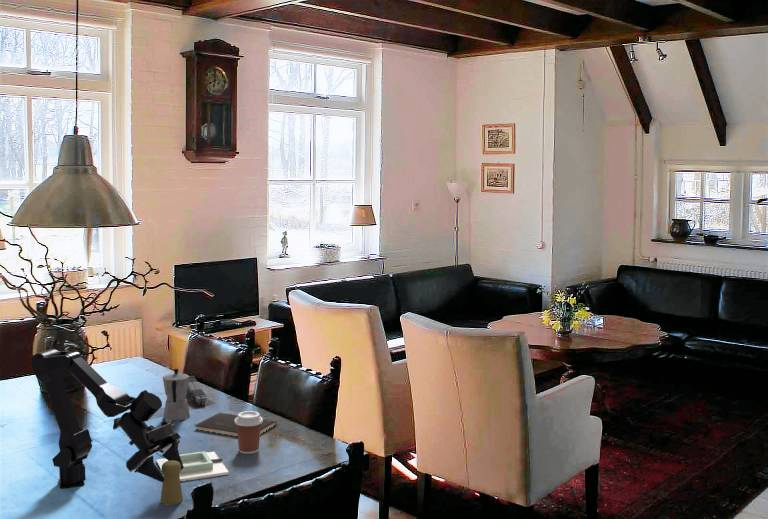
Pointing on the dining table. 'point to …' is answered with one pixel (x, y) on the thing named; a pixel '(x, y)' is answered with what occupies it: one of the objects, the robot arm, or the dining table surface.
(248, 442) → the coffee cup
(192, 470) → the dock plate
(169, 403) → the coffeepot
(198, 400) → the gun
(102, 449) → the dining table surface
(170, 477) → the cork
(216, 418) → the hardcover book
